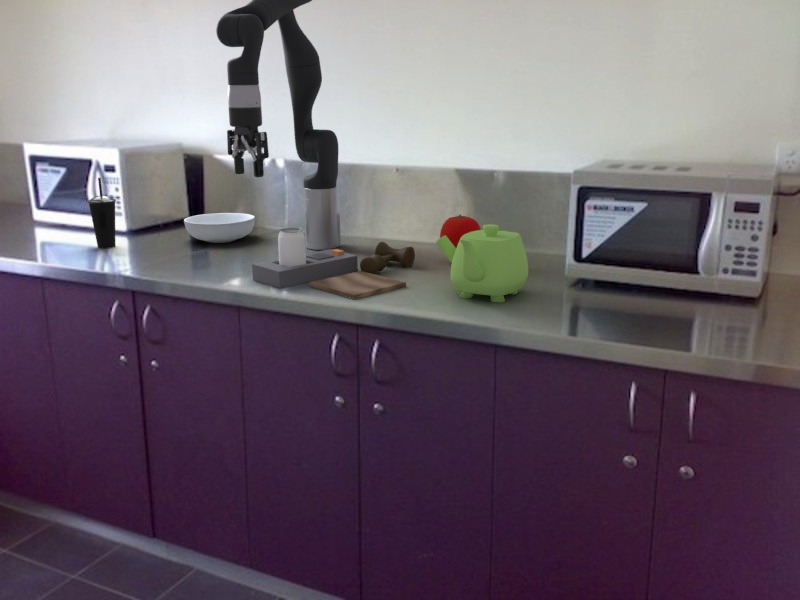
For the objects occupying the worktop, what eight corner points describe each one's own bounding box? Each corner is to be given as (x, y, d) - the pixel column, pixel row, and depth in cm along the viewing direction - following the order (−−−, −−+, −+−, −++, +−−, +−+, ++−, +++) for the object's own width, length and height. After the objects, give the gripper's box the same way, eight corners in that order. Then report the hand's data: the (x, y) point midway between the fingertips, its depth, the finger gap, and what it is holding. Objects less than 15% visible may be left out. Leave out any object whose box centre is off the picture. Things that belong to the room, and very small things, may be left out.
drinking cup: (126, 245, 230) (119, 177, 225) (104, 250, 224) (96, 180, 219) (109, 243, 234) (101, 175, 229) (87, 247, 228) (79, 178, 223)
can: (301, 282, 188) (299, 232, 185) (276, 281, 190) (273, 231, 186) (310, 275, 194) (308, 227, 191) (285, 274, 196) (283, 227, 192)
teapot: (456, 277, 193) (457, 212, 188) (540, 288, 182) (543, 220, 178) (405, 301, 172) (405, 229, 168) (495, 315, 161) (498, 239, 157)
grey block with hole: (330, 264, 207) (329, 246, 205) (357, 271, 199) (357, 252, 198) (252, 280, 191) (251, 260, 189) (279, 288, 183) (278, 268, 182)
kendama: (351, 276, 197) (391, 258, 213) (384, 281, 192) (422, 263, 209) (350, 253, 195) (391, 236, 211) (384, 258, 190) (423, 241, 207)
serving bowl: (266, 234, 246) (265, 213, 244) (238, 248, 226) (237, 225, 224) (205, 232, 250) (203, 210, 248) (172, 245, 231) (170, 222, 229)
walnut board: (360, 274, 195) (360, 270, 195) (405, 286, 184) (405, 282, 184) (309, 286, 184) (309, 282, 184) (354, 299, 173) (353, 295, 173)
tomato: (487, 266, 203) (488, 217, 199) (447, 269, 200) (448, 219, 197) (472, 257, 213) (473, 210, 210) (434, 259, 211) (435, 212, 207)
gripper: (275, 105, 180) (279, 176, 185) (242, 104, 190) (246, 171, 195) (247, 106, 175) (251, 179, 180) (215, 105, 185) (219, 174, 190)
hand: (249, 175), depth 187 cm, fingers open, 8 cm apart
